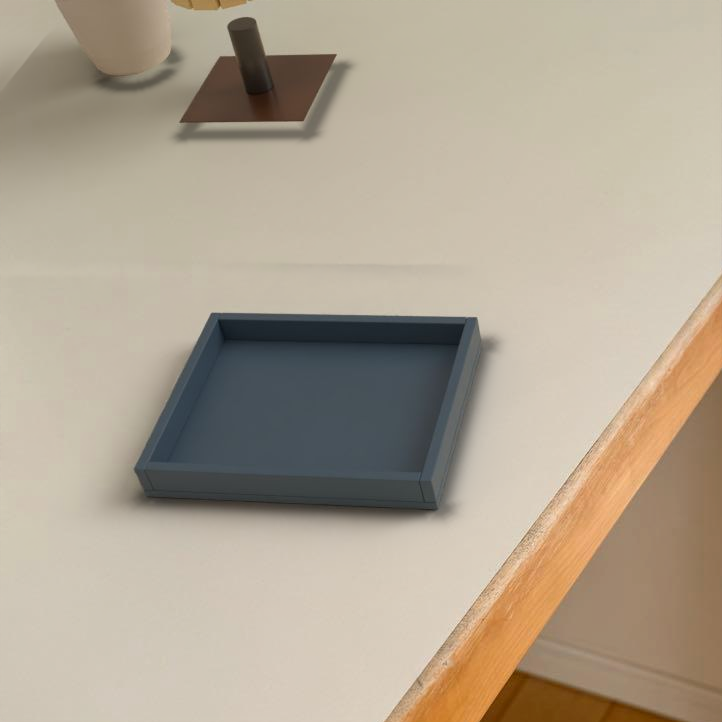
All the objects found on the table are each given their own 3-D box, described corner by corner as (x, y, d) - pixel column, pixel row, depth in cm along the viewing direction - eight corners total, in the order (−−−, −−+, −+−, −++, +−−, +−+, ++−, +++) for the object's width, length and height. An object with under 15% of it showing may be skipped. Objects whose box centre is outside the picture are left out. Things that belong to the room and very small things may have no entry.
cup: (201, 36, 96) (158, -99, 88) (178, 91, 91) (131, -48, 83) (99, 45, 97) (48, -88, 89) (71, 100, 91) (14, -37, 84)
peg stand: (183, 135, 86) (156, 58, 82) (223, 68, 92) (200, -7, 88) (306, 134, 85) (286, 56, 81) (340, 66, 91) (322, -10, 86)
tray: (146, 496, 63) (132, 469, 62) (221, 339, 71) (210, 311, 70) (438, 510, 61) (431, 481, 59) (482, 345, 68) (477, 316, 67)
